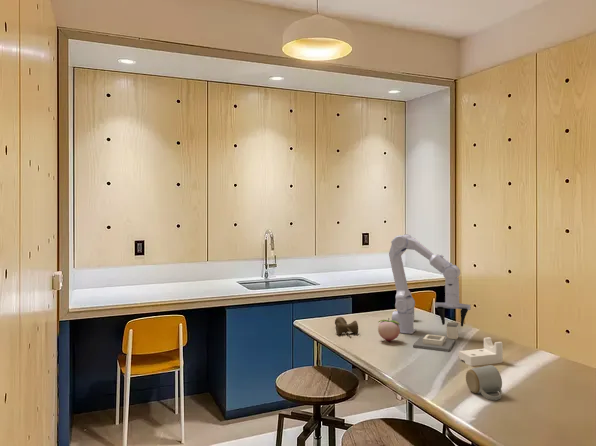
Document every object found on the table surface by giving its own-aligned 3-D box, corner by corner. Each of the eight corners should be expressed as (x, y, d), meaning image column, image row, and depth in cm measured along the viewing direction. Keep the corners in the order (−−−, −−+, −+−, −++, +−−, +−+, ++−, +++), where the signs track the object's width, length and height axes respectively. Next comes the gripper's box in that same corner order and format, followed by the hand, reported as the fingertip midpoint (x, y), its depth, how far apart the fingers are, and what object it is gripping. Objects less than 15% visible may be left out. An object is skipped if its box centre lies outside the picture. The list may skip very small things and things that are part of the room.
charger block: (447, 338, 198) (446, 324, 198) (448, 336, 202) (448, 322, 202) (456, 339, 197) (456, 325, 196) (458, 337, 200) (458, 323, 200)
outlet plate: (412, 347, 186) (412, 339, 186) (420, 338, 199) (420, 331, 199) (448, 351, 180) (448, 344, 180) (454, 342, 192) (454, 335, 192)
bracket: (489, 357, 173) (489, 337, 173) (502, 363, 166) (502, 342, 166) (459, 360, 170) (458, 340, 170) (470, 367, 163) (470, 345, 163)
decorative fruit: (376, 343, 192) (376, 319, 192) (378, 338, 200) (378, 315, 200) (400, 345, 190) (399, 320, 189) (401, 339, 198) (400, 316, 197)
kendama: (349, 327, 223) (361, 337, 203) (330, 328, 221) (340, 339, 201) (349, 314, 223) (360, 323, 203) (329, 316, 221) (339, 325, 201)
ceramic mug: (463, 388, 143) (463, 364, 143) (487, 385, 145) (487, 361, 144) (484, 402, 133) (484, 376, 132) (509, 399, 134) (509, 373, 134)
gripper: (433, 294, 199) (433, 325, 199) (468, 296, 192) (469, 328, 192) (436, 291, 205) (436, 322, 205) (471, 293, 198) (471, 325, 198)
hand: (452, 325), depth 199 cm, fingers open, 7 cm apart
